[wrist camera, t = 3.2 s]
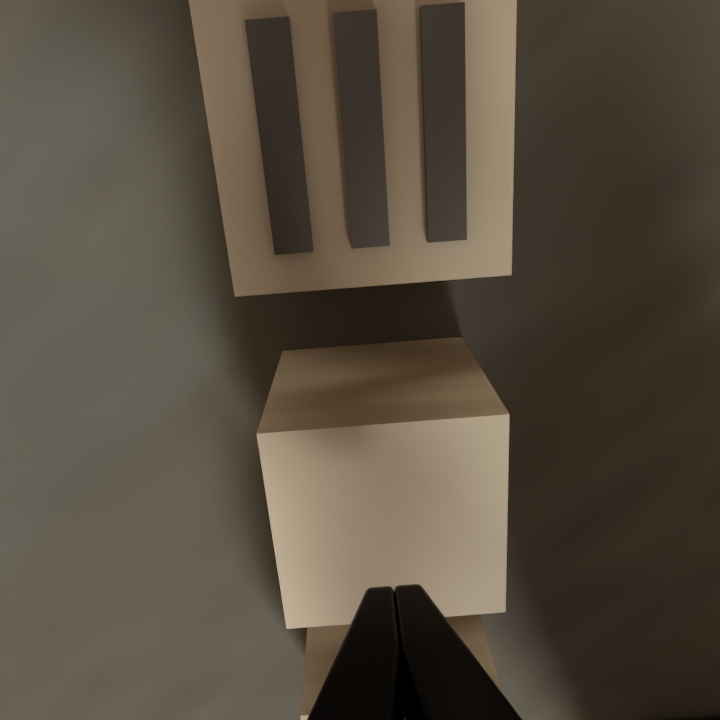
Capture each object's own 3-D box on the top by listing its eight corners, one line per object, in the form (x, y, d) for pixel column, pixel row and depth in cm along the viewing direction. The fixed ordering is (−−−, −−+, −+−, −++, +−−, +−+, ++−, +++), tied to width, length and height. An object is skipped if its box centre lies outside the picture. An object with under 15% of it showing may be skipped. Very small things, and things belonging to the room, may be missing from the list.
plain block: (461, 336, 14) (509, 414, 10) (462, 489, 16) (505, 612, 12) (282, 350, 14) (256, 433, 10) (302, 501, 16) (286, 628, 12)
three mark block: (456, 16, 12) (521, -60, 7) (460, 235, 13) (514, 277, 9) (242, 34, 12) (180, -33, 8) (269, 250, 13) (232, 299, 9)
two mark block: (464, 561, 17) (505, 707, 12) (465, 675, 18) (502, 840, 14) (311, 573, 17) (299, 722, 12) (326, 685, 18) (319, 853, 14)
